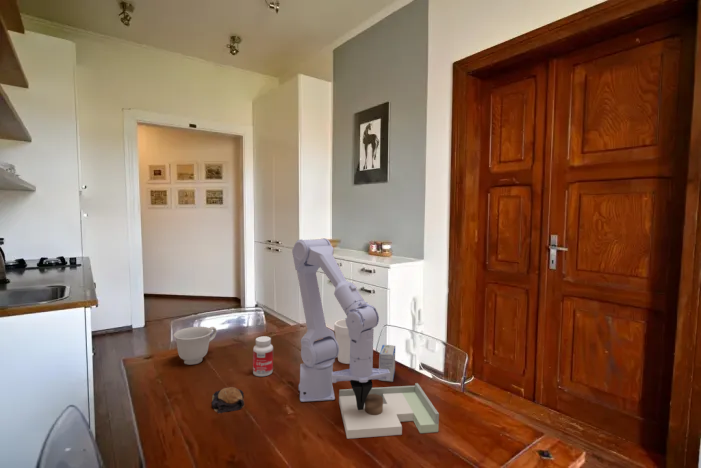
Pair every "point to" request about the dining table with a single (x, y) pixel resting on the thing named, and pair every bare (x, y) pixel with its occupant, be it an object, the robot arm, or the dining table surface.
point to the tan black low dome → (228, 400)
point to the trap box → (389, 412)
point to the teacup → (194, 343)
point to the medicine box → (387, 360)
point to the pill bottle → (263, 357)
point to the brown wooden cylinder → (374, 404)
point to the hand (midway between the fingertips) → (360, 407)
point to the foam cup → (342, 341)
